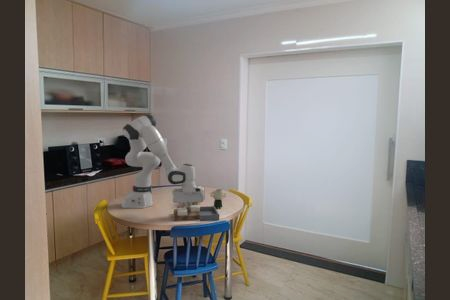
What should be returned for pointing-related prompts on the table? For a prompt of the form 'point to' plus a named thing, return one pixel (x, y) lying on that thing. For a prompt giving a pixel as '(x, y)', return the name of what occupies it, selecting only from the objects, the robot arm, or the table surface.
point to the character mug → (218, 197)
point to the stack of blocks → (203, 196)
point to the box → (208, 213)
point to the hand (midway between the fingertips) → (188, 208)
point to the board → (187, 216)
